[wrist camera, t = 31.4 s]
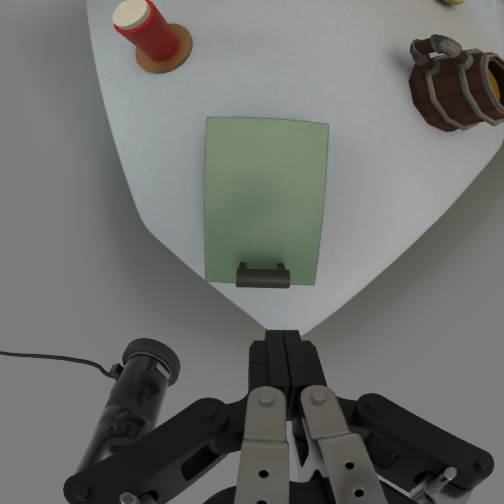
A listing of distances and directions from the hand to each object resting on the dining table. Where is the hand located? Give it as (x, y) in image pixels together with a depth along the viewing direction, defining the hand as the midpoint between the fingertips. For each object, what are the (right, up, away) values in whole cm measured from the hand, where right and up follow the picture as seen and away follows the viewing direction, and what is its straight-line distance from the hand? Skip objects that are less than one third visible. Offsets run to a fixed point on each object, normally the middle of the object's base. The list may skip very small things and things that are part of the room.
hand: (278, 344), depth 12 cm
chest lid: (0, +9, +16) cm, 18 cm away
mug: (+26, +29, +17) cm, 43 cm away
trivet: (-13, +32, +16) cm, 38 cm away
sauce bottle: (-13, +32, +15) cm, 37 cm away
